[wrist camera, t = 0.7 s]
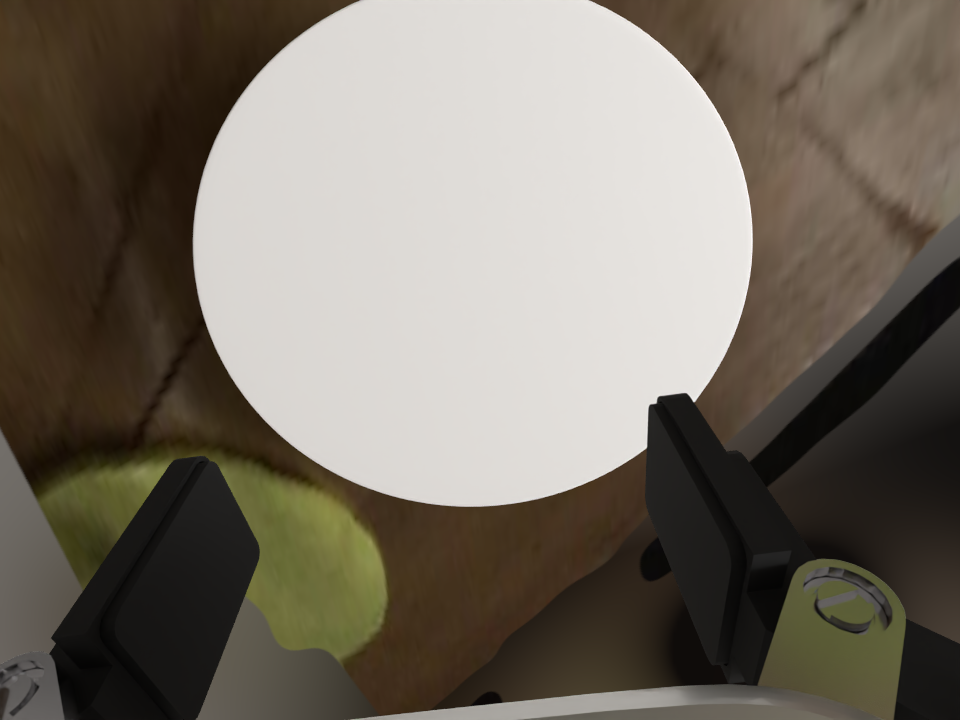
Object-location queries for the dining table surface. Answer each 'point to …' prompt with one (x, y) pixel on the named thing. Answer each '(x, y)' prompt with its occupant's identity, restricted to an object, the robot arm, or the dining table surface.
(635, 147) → the plate stack
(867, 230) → the dining table surface
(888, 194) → the dining table surface
